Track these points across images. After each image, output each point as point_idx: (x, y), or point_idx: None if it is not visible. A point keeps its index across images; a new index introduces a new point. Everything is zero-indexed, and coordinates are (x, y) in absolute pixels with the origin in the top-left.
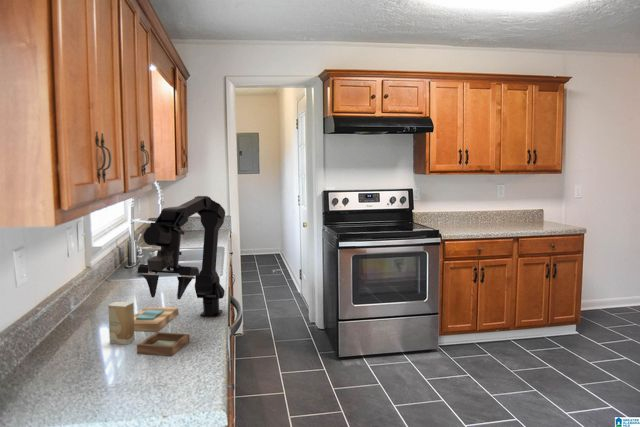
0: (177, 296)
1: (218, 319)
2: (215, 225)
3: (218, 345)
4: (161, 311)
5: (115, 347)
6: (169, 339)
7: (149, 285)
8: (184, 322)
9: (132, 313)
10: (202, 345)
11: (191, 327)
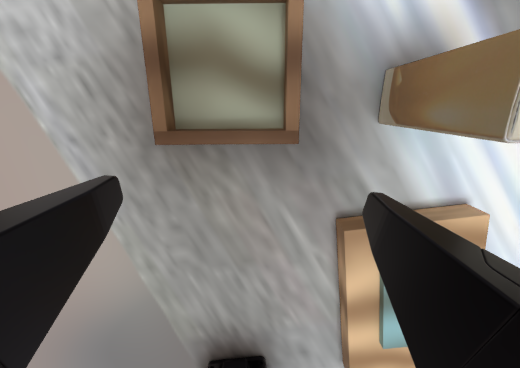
0: (100, 183)
1: (193, 341)
2: None
3: (50, 131)
4: (384, 333)
5: (418, 34)
6: (237, 128)
7: (481, 256)
8: (286, 304)
9: (451, 117)
10: (104, 120)
11: (239, 268)
